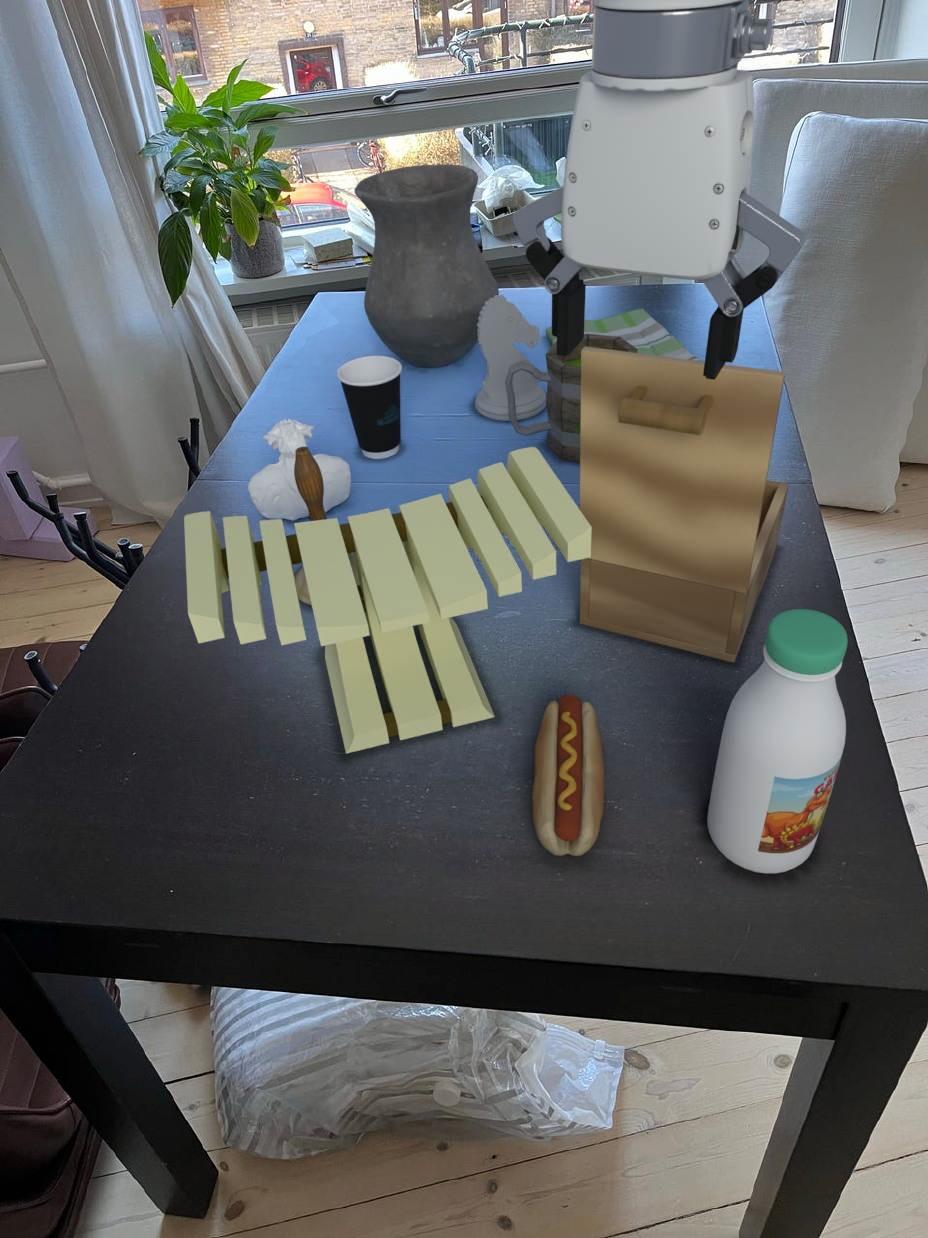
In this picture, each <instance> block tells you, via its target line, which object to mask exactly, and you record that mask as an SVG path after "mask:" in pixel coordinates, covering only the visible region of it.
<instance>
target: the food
mask: <svg viewBox="0 0 928 1238" xmlns="http://www.w3.org/2000/svg"><path fill="white" fill-rule="evenodd" d="M605 773H606V769H605V763H604V753H603V744H602V737H601V734H600V731H599V725H598V716H597V713H596V710H595V708H594V707H593V705H592V704H591V702H589V701H584V702H583V703H582V701H581V699H580V697H578V696H576V695H574V694H563V695H562V696H561V697H560V698H559V702H557V701H556V700H552V701H550V702H549V704H548V705H547V706H546V707H545V710H544V713H543V717H542V720H541V724H540V728H539V732H538V735H537V738H536V741H535V744H534V778H533V783H532V784H533V785H532V797H531V798H532V799H531V800H532V820H533V826H534V830H535V833H536V837H537V839H538V841H539V842H540V844H541V845H542V847H543V848H544V849H546V850H547V851H548V852H550V853H551V854H553V855H554V856H565V855H567V854H568V855H570V856H574V857H578V856H579V857H580V856H582V855H584V854H586V853H587V852H588V851H589V850H591V848H592V847H593V846H594V844H595V843H596V841H597V839H598V836H599V834H600V827H601V823H602V819H603V818H602V817H603V813H604V802H605V801H604V800H605V799H604V798H605Z"/></svg>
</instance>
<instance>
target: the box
mask: <svg viewBox="0 0 928 1238" xmlns="http://www.w3.org/2000/svg"><path fill="white" fill-rule="evenodd" d="M789 485H790V484H789V483H787V482H779V481H776V480H769V479H767V482H766V487H765V493H764V499H763V505H762V510H761V516H760V522H759V528H758V533H757V539H756V545H755V551H754V556H753V562H752V568H751V574H750V579H749V585H748V589H747V592H746V593H742V592H738V591H733V590H729V589H724V588H720V587H715V586H711V585H706V584H702V583H697V582H693V581H688V580H684V579H679V578H675V577H670V576H666V575H661V574H657V573H652V572H648V571H643V570H639V569H634V568H630V567H625V566H621V565H616V564H612V563H607V562H603V561H598V560H594V559H589V558H585V559H581V560H580V579H579V580H580V581H579V584H580V585H579V621H578V622H579V624H580V625H583V626H587V627H591V628H596V629H599V630H603V631H607V632H610V633H615V634H618V635H622V636H627V637H631V638H635V639H638V640H642V641H646V642H650V643H653V644H658V645H663V646H666V647H670V648H674V649H678V650H682V651H686V652H690V653H694V654H698V655H701V656H706V657H710V658H714V659H717V660H722V661H725V662H729V663H733V664H734V663H735V662H736V659H737V657H738V654H739V651H740V648H741V645H742V643H743V640H744V637H745V635H746V632H747V629H748V626H749V624H750V622H751V619H752V616H753V613H754V610H755V607H756V605H757V602H758V599H759V597H760V594H761V591H762V589H763V586H764V583H765V581H766V577H767V574H768V572H769V569H770V566H771V564H772V561H773V559H774V556H775V553H776V550H777V546H778V541H779V537H780V531H781V527H782V522H783V521H782V520H783V516H784V512H785V506H786V501H787V496H788V491H789Z"/></svg>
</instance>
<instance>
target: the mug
mask: <svg viewBox="0 0 928 1238" xmlns="http://www.w3.org/2000/svg"><path fill="white" fill-rule="evenodd" d="M585 346H586V347H594V348H601V349H609V350H617V351H625V352H633V353H637V350H638V349H637V348H635V347H634V346H632V345H631V344H630V343H628V342H627V341H625V340H624V339H622V338H621V337H616V336H606V335H595V334H584V338H583V340H582V341H581V342H580V343H579V344H578V345H577V346H576V348H575V349H574V350H573V351H572V352H571V353H570V354H569V355H566V356H560V355H557V341H556V342H555V343H554V345H551V347H550V348H549V350H548V351H547V352H546V354H545V363H546V370H547V371H541V370H539V369H538V367H536V366H535V365H534V364H533V363H532V362H530V363H527V362H523V361H520V362H518V363H516V364H514V365H512V366H510V367H509V371H508V374H507V377H506V380H505V385H506V391H507V397H508V412H509V419H510V421H509V422H510V424H511V426H512V428H513V429H514V431H515V433H517V434H520V435H523V436H526V437H527V436H530V435H534V434H537V433H542V432H546V431H547V437H546V446H547V447H548V448H549V450H551V452H553V454H555V456H556V457H558V459H560V461H566V462H572V463H579V464H580V430H581V350H582V349H583V348H584V347H585ZM520 370H524V371H527V372H530V373H531V374H532V375H533V376H534V377H535V378H536V379H538V382H543V383H544V382H545V383H547V387H546V412H547V420H545V421H541V422H535V423H533V424H530V425H528V426H526V425H522V424H520V423H519V420H517V419H516V405H515V394H514V390H513V385H512V380H513V374H514V373H516V372H518V371H520Z"/></svg>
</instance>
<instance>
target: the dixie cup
mask: <svg viewBox="0 0 928 1238" xmlns="http://www.w3.org/2000/svg"><path fill="white" fill-rule="evenodd" d="M402 370H403V365H402V363H401V362H400V361H399V360H397V359H396V358H393V357H392V356H391V357H390V356H385V355H368V356H366V355H365V356H361V357H357V358H354V359H351V360H348V361H346V362H344V363H343V364H341V365H340V366H339V367H338V369H337V370H336V377H337V379H338V380H339V381H340V384H341V387H342V391H343V395H344V397H345V401H346V405H347V408H348V413H349V415H350V419H351V423H352V426H353V430H354V433H355V436H356V441H357V443H358V447H359V448H360V449H361V452H362V454H363V455H364V456H365V457H366V458H369V459H372V460H381V459H388V458H390V457H392V456H394V455H396V454H397V453H398V452H399V450H400V444H401V442H402V438H401V437H402V433H401V432H402V431H401V429H402V427H401V415H402V414H401V373H402Z"/></svg>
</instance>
